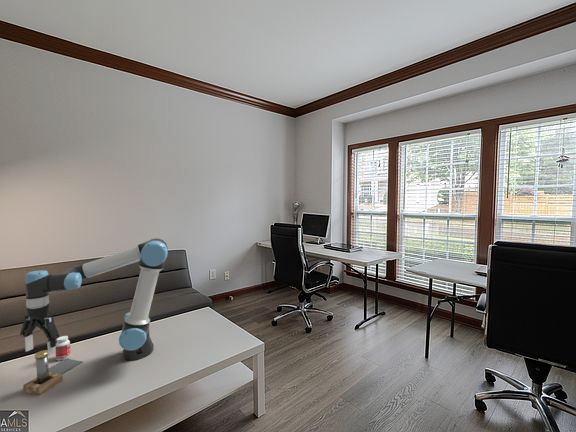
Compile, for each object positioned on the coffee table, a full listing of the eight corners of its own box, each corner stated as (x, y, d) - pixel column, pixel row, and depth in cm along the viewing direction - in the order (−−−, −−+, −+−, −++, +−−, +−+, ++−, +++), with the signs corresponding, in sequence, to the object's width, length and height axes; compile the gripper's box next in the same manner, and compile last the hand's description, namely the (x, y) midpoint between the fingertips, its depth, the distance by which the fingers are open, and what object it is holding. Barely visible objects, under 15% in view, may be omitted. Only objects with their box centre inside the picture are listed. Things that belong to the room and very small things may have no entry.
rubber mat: (82, 362, 143) (82, 361, 142) (60, 375, 132) (60, 374, 132) (66, 359, 145) (66, 358, 145) (43, 372, 135) (43, 371, 135)
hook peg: (53, 383, 126) (50, 350, 125) (41, 390, 122) (39, 356, 121) (45, 382, 127) (43, 349, 126) (34, 388, 123) (31, 355, 122)
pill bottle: (70, 358, 146) (68, 338, 146) (55, 362, 143) (53, 341, 142) (71, 353, 151) (70, 333, 151) (57, 356, 148) (55, 337, 147)
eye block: (62, 380, 128) (62, 374, 128) (39, 395, 119) (39, 388, 119) (47, 377, 130) (47, 371, 130) (23, 391, 121) (23, 385, 121)
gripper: (68, 305, 123) (70, 351, 124) (27, 300, 129) (29, 344, 130) (50, 311, 116) (52, 360, 117) (7, 306, 122) (10, 352, 123)
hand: (40, 352), depth 123 cm, fingers open, 13 cm apart
